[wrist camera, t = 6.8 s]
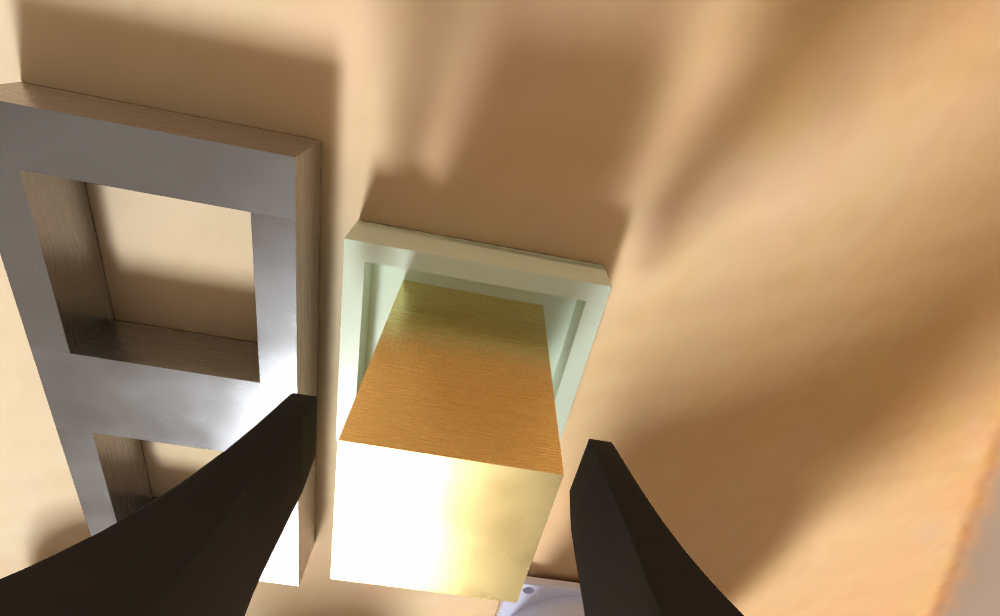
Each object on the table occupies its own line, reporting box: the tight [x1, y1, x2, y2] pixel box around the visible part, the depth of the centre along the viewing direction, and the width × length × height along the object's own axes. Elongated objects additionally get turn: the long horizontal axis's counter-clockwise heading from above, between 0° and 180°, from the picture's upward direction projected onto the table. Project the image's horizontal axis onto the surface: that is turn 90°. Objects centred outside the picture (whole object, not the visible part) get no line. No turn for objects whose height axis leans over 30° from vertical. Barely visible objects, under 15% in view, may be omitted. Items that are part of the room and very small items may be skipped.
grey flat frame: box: [0, 82, 321, 586], centre depth 17 cm, size 8×18×2 cm, turn 169°
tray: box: [336, 220, 612, 441], centre depth 17 cm, size 8×8×2 cm
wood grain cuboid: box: [331, 280, 564, 603], centre depth 14 cm, size 4×4×7 cm
